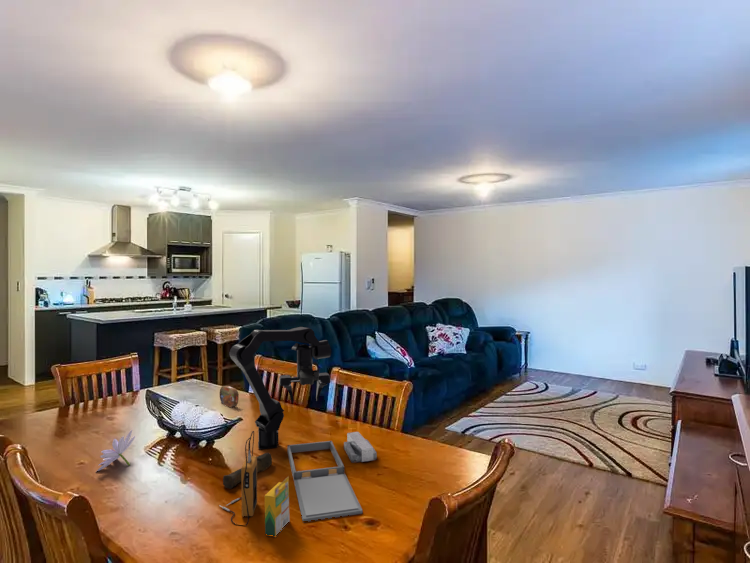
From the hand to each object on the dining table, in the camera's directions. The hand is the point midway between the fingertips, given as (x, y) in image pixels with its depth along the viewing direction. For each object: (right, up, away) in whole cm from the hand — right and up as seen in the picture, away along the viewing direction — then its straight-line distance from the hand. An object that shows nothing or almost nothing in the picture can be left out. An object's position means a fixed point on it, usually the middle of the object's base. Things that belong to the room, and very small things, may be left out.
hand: (304, 401), depth 173 cm
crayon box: (+3, -15, -61) cm, 63 cm away
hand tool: (-12, -14, -33) cm, 38 cm away
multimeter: (-10, -15, -53) cm, 56 cm away
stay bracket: (+21, -14, -16) cm, 30 cm away
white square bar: (+21, -13, -17) cm, 30 cm away
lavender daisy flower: (-57, -14, -25) cm, 64 cm away
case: (+10, -14, -35) cm, 39 cm away
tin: (-41, -12, +40) cm, 58 cm away
